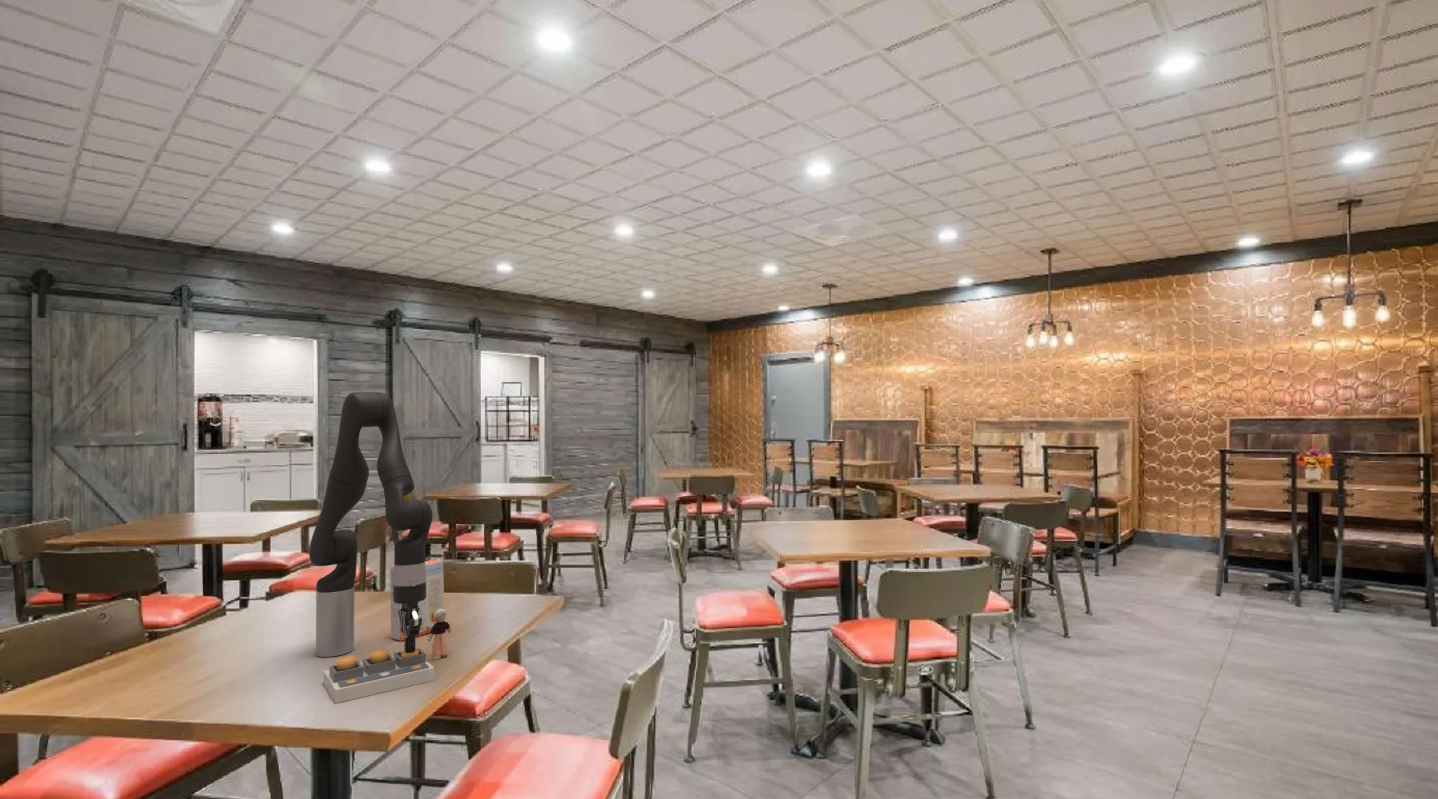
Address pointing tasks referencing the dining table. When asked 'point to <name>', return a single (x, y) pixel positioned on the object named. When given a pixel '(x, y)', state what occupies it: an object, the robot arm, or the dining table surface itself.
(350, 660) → the left button
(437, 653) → the grandmother figurine
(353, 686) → the button console
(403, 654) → the right button
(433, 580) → the cracker box
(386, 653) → the middle button
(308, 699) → the dining table surface
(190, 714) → the dining table surface
